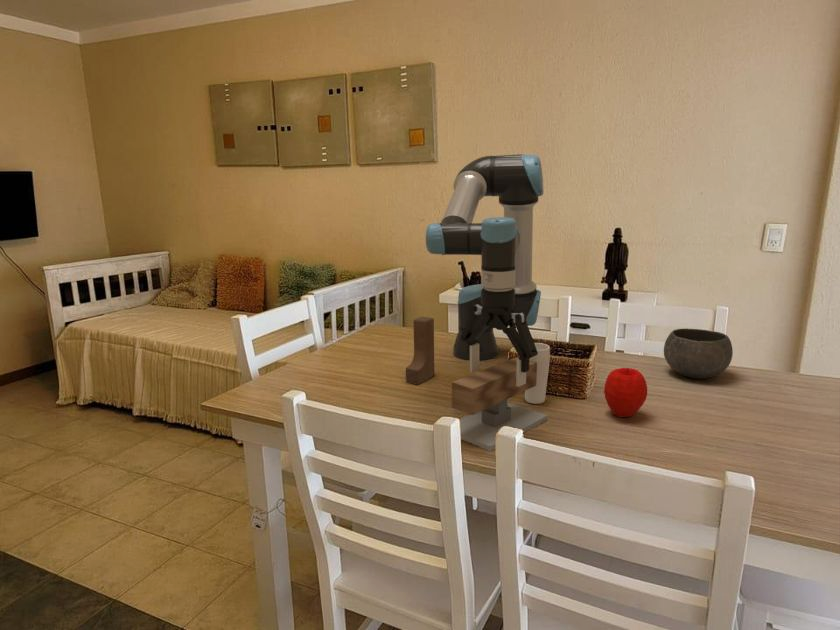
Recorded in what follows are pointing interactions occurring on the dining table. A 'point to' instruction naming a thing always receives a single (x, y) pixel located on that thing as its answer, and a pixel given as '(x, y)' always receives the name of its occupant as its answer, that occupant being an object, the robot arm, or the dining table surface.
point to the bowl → (698, 352)
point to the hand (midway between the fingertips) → (496, 377)
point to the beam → (490, 386)
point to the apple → (625, 391)
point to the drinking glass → (539, 375)
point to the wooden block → (422, 351)
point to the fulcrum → (497, 423)
